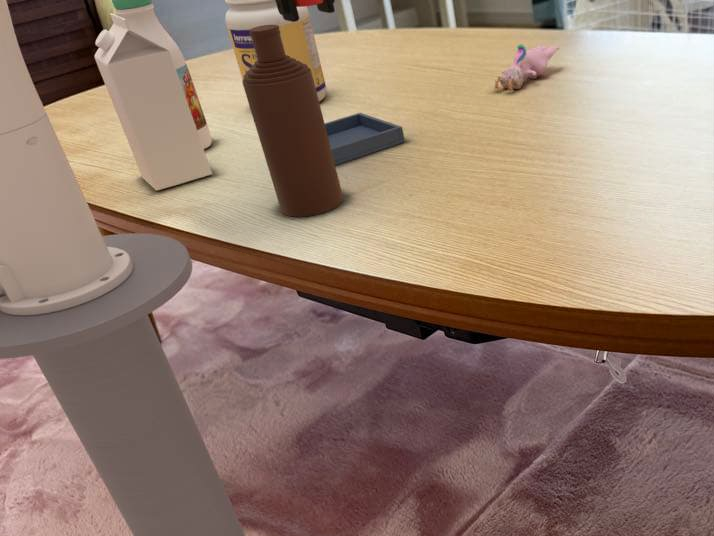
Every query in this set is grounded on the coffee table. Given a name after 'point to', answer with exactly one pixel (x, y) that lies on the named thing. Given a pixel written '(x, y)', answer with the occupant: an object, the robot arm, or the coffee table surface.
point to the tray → (361, 136)
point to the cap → (307, 2)
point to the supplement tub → (259, 8)
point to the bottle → (291, 128)
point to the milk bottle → (141, 19)
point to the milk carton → (150, 106)
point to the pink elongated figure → (526, 66)
